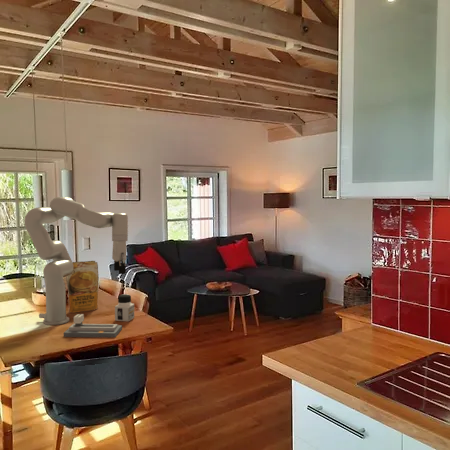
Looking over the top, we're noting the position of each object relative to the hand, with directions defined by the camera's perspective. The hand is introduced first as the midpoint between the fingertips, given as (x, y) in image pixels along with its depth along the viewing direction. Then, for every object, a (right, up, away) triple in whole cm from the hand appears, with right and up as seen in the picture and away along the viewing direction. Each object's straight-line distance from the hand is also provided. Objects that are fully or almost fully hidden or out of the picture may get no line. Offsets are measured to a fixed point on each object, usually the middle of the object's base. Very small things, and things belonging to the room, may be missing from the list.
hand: (119, 272), depth 210 cm
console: (-10, -28, -10) cm, 31 cm away
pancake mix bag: (-28, -25, +29) cm, 48 cm away
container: (-1, -27, +13) cm, 30 cm away
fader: (-17, -26, -10) cm, 32 cm away
